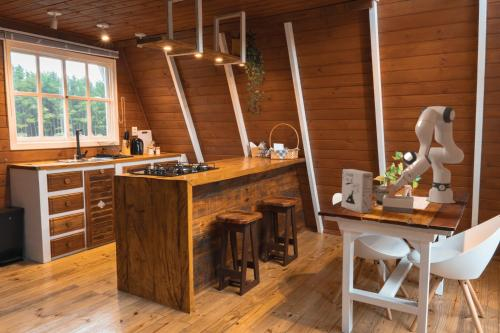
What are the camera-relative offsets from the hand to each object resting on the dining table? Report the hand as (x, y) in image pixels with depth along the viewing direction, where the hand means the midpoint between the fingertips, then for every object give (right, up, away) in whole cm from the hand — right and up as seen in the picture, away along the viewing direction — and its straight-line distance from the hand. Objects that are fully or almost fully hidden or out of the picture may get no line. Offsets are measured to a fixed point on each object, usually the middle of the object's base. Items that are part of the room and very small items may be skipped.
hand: (391, 189), depth 254 cm
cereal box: (-23, -13, -1) cm, 26 cm away
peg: (0, -6, 0) cm, 6 cm away
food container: (+1, -11, +17) cm, 21 cm away
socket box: (+4, -13, 0) cm, 13 cm away
